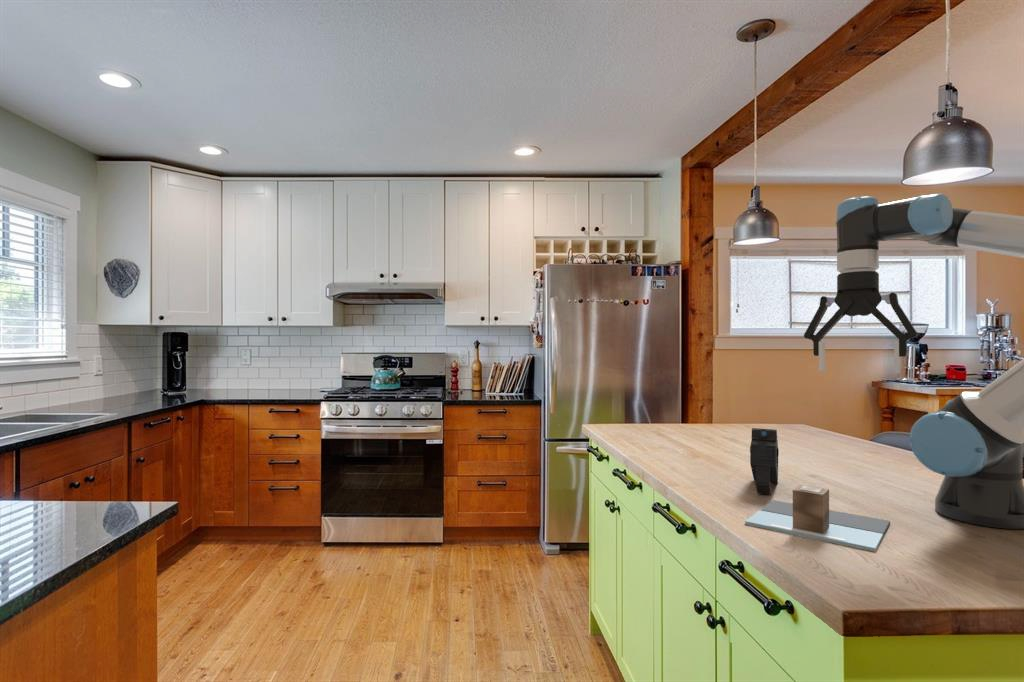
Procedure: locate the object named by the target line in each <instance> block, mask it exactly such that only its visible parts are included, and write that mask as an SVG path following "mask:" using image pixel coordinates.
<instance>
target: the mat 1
mask: <svg viewBox="0 0 1024 682" xmlns="http://www.w3.org/2000/svg"><path fill="white" fill-rule="evenodd" d="M760 510H761V511H766V512H772V513H777V514H782V515H787V516H792V517H793V502H786V501H781V500H775V499H773V500H771V501H770V502H769V503H767V504H766V505H765V506H763V507H762V508H760ZM829 524H834V525H839V526H845V527H850V528H855V529H860V530H866V531H871V532H876V533H881V534H883V537H884V536H885V534H886V533H887V531H888V528H889V526H890V524H891V520H889V519H883V518H877V517H872V516H865V515H860V514H855V513H854V514H853V513H848V512H843V511H839V510H838V511H837V510H833V509H832V510H831V509H829Z"/></svg>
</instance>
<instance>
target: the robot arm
mask: <svg viewBox="0 0 1024 682" xmlns="http://www.w3.org/2000/svg"><path fill="white" fill-rule="evenodd" d="M836 211H837V212H836V222H835V225H836V248H837V249H836V271H837V272H838V273H839V274H838V275H836V295H835V296H834V297H829V296H825V295H822V296H821V297H820V299H819V306H818V308H817V310H816V312H815V313H814V315H813V317H812V319H811V321H810V323H809V324H808V326H807V328H806V330H805V332H804V334H803V338H805V339H808V340H809V341H810V340H811V341H812V343H813V344H812V345H813V347H812V348H813V349H812V350H813V351H812V352H813V355H814V356H815V357H818V372H825V371H826V341H822V340H823V339H824V337H825V336H826V335H828V333H829V332H830V331H831V330H832V329H833V328H834V327H835V326H836V325H837V324H838V323H839V322H840V320H841V319H843V317H845V316H849V317H855V316H862V317H863V316H864V317H865V316H866V317H868V316H869V315H872V316H873V317H875V318H876V319H877V320H878V321H879V322H880V323H881V324H882V325H883V326H884V327H886V329H888V331H889V332H891V334H893V335H894V336H895V337H896V338H897V339H898V340H895V341H893V343H894V344H893V346H894V347H893V351H894V352H893V355H894V357H893V358H894V359H893V360H894V362H893V365H894V372H893V373H894V374H901V357H903V358H904V357H907V354H908V353H907V351H908V350H907V349H908V348H907V342H908V341H909V340H911V339H914V338H917V337H918V336H919V334H918V332H917V330H916V329H915V327H914V326H913V324H912V323H911V321H910V319H909V317H908V316H907V314H906V313H905V311H904V310H903V308H902V307H901V304H899V298H898V294H897V293H895V292H890V293H888V294H881V293H880V278H879V277H880V274H879V273H878V271H877V270H878V269H879V267H880V265H879V264H880V263H879V261H880V259H879V257H880V256H879V253H880V251H879V244H880V242H884V241H890V240H891V241H892V240H898V239H907V238H908V239H909V238H910V239H913V240H917V241H923V242H926V243H928V244H931V245H934V246H935V245H936V246H948V247H952V248H953V247H954V248H961V249H967V250H973V251H980V252H986V253H991V254H999V255H1002V256H1008V257H1009V256H1010V257H1015V258H1021V259H1024V216H1022V215H1015V214H1007V213H998V212H989V211H978V210H971V209H966V208H965V209H963V208H957V207H956V208H955V207H953V206H952V202H951V200H950V199H949V197H948V196H947V195H946V194H943V193H933V194H923V195H920V196H917V197H916V196H915V197H911V198H907V199H901V200H896V201H891V202H887V203H882V204H881V203H879V199H878V198H877V197H874V196H868V195H867V196H866V195H865V196H859V197H857V196H856V197H851V198H848V199H845V200H842V201H841V202H840V203H838V206H837V210H836ZM882 301H884V302H885V303H886V305H890V306H891V308H892V310H893V312H894V313H895V315H896V316H897V318H898V319H899V321H900V323H901V324H902V326H903V328H904V329H905V331H906V332H907V333H904V332H903V331H901V329H899V328H898V326H896V325H895V324H894V323H893V322H892V321H891V320H890V319H889V318H887V316H886V315H884V314H883V312H881V311H880V310H879V309H878V308H877V307H878V306H879V305H880V303H881V302H882ZM834 303H835V304H836V306H838V307H837V308H838V309H837V311H836V312H835V313H834V314H833V315H832V317H831V318H830V319H828V321H827V322H826V323H825V324H824V325H823V326H822V327H821V328H820V329H819V330H818V332H816V330H817V328H818V326H819V325H820V323H821V321H822V320H823V317H824V316H825V314H826V312H827V310H828V308H830V307H831V306H832V305H833V304H834ZM815 332H816V334H815ZM909 443H910V444H909V445H910V448H911V450H912V453H913V455H914V456H915V457H916V459H917V461H919V462H920V463H921V464H922V465H923V466H924V467H925V468H927V469H929V470H930V471H932V472H934V473H936V474H939V475H942V476H944V477H943V480H942V482H941V484H940V486H939V489H938V491H937V494H936V496H935V499H934V510H935V511H936V513H938V514H940V515H942V516H944V517H947V518H949V519H953V520H956V521H960V522H964V523H968V524H973V525H977V526H981V527H982V526H983V527H989V528H999V529H1007V530H1008V529H1009V530H1024V482H1023V481H1024V480H1023V470H1024V469H1023V464H1024V463H1023V457H1024V456H1023V444H1024V358H1022V359H1021V360H1019V362H1018V363H1016V364H1014V365H1013V366H1012V367H1011V368H1009V369H1007V370H1006V371H1004V373H1002V374H1001V375H1000V376H998V377H997V378H996V379H994V380H993V381H992V382H990V383H989V384H987V385H986V386H985V387H983V388H982V389H981V390H979V391H962V392H961V393H959V394H958V395H957V396H956V397H954V398H953V399H949V400H947V401H946V403H945V405H943V406H942V407H941V408H940V409H938V410H936V411H933V412H928V413H927V414H924V415H922V416H921V417H920V418H919V419H918V420H916V421H915V422H914V424H913V425H912V426H911V429H910V432H909Z"/></svg>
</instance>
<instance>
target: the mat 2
mask: <svg viewBox="0 0 1024 682" xmlns="http://www.w3.org/2000/svg"><path fill="white" fill-rule="evenodd" d="M744 525H747V526H752V527H756V528H760V529H766V530H770V529H771V530H770V531H774V530H776V532H779V531H780V533H785V534H789V535H794V536H798V537H804V538H808V539H813V540H818V541H822V542H827V543H832V544H837V545H842V546H846V547H852V548H855V549H861V550H865V551H871V552H874V553H876V551H877V550H878V548H879V546H880V544H881V542H882V540H883V538H884V536H883V534H881V533H876V532H871V531H866V530H860V529H855V528H850V527H845V526H839V525H834V524H829V528H828V529H827V530H826V531H825V532H824V533H823V534H822V533H817V532H812V531H807V530H802V529H797V528H793V517H792V516H787V515H782V514H777V513H772V512H766V511H761V509H760V510H758V511H757V512H755V513H754V514H753V515H751V516H750V517H749V518H747V519H746V520H744Z"/></svg>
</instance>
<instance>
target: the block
mask: <svg viewBox="0 0 1024 682" xmlns="http://www.w3.org/2000/svg"><path fill="white" fill-rule="evenodd" d="M792 503H793V528H797V529H802V530H807V531H812V532H817V533H822V534H823V533H824V532H825V531H826V530H827V529H828V528H829V510H830V489H829V488H825V487H817V486H812V485H811V486H810V485H806V484H805V485H804V484H798V485H797V486H796V487H794V488H793V489H792Z"/></svg>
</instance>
